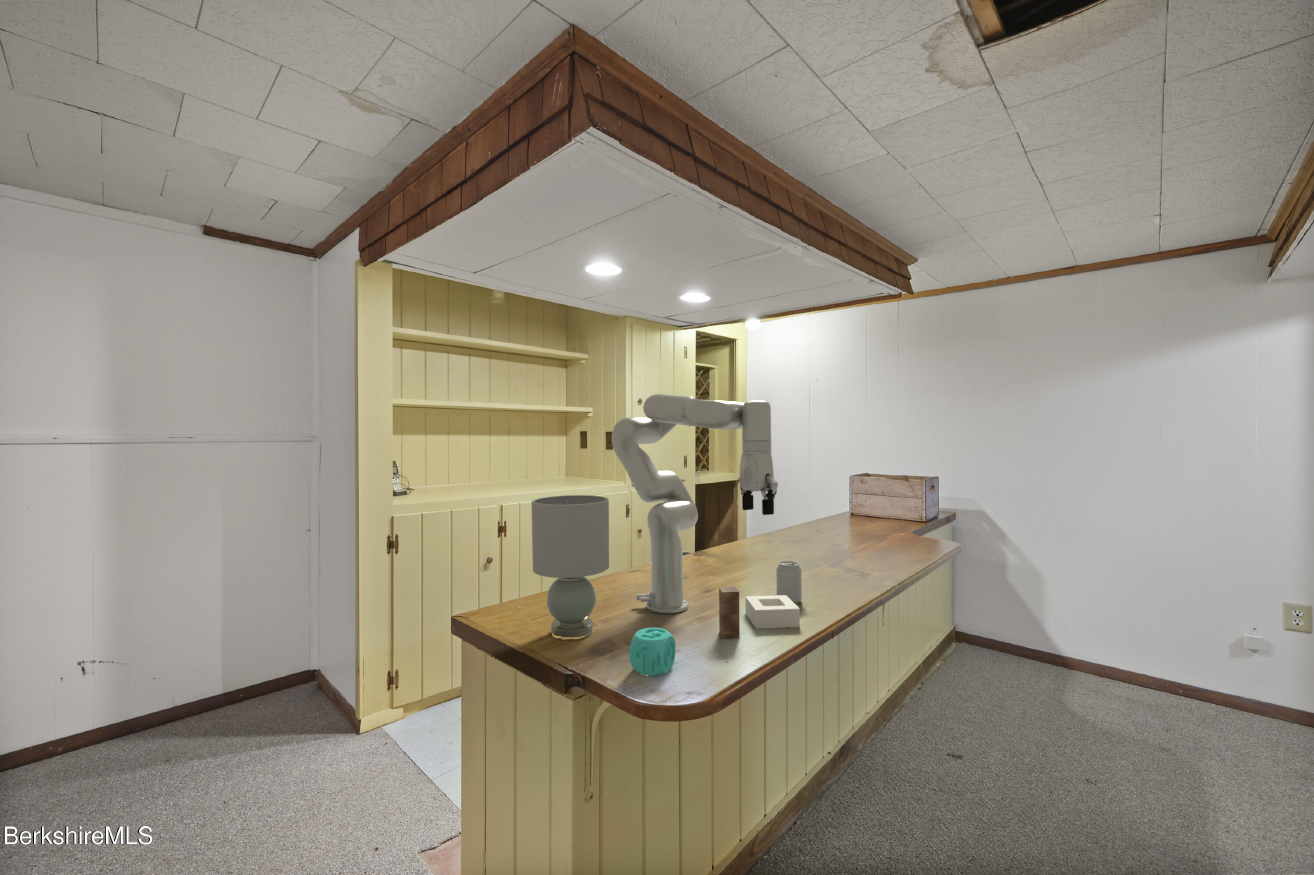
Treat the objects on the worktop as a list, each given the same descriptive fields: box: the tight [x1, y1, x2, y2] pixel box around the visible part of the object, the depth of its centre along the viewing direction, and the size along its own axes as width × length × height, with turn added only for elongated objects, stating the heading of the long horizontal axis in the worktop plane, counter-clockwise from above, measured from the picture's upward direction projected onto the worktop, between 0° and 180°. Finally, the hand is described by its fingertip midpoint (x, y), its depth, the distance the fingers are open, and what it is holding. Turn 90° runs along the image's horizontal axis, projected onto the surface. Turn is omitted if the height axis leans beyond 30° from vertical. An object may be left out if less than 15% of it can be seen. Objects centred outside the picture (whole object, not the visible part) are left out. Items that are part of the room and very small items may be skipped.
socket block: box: [744, 594, 801, 629], centre depth 154 cm, size 12×12×5 cm
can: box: [776, 560, 803, 605], centre depth 170 cm, size 8×8×12 cm
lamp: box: [530, 494, 610, 637], centre depth 146 cm, size 20×20×35 cm
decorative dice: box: [628, 627, 677, 677], centre depth 123 cm, size 8×8×8 cm
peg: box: [718, 586, 741, 640], centre depth 143 cm, size 4×4×12 cm
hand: (757, 512), depth 146 cm, fingers open, 9 cm apart
